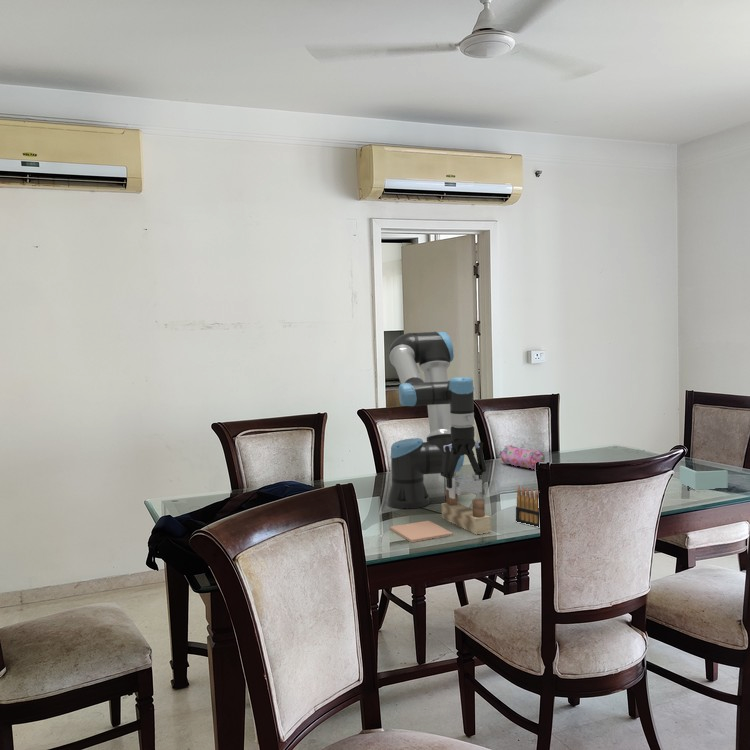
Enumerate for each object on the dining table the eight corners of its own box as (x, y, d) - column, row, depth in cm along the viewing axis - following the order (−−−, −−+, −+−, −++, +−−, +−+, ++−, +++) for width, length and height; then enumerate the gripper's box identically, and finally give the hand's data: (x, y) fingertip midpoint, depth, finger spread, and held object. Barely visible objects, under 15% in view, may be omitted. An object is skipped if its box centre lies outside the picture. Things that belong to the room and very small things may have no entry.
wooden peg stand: (442, 518, 230) (441, 488, 229) (455, 516, 231) (454, 486, 231) (476, 535, 209) (475, 502, 209) (490, 532, 211) (489, 500, 210)
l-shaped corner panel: (727, 491, 252) (727, 470, 251) (695, 492, 252) (695, 472, 251) (710, 483, 264) (710, 464, 263) (679, 485, 264) (679, 465, 263)
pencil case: (498, 464, 316) (498, 445, 315) (514, 462, 320) (513, 443, 319) (530, 472, 297) (529, 451, 296) (546, 469, 301) (545, 449, 300)
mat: (389, 529, 219) (389, 526, 219) (428, 522, 224) (428, 520, 224) (411, 542, 204) (411, 540, 204) (452, 535, 210) (452, 533, 209)
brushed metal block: (446, 489, 223) (445, 477, 222) (467, 486, 226) (467, 474, 225) (460, 495, 214) (459, 482, 214) (482, 492, 217) (481, 479, 217)
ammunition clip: (515, 522, 222) (514, 485, 221) (519, 521, 223) (518, 484, 222) (542, 528, 213) (541, 490, 212) (546, 527, 214) (545, 489, 214)
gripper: (438, 430, 211) (440, 503, 213) (496, 424, 219) (498, 494, 221) (427, 427, 218) (429, 497, 220) (484, 421, 226) (485, 489, 228)
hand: (464, 495), depth 220 cm, fingers closed on brushed metal block, 8 cm apart
